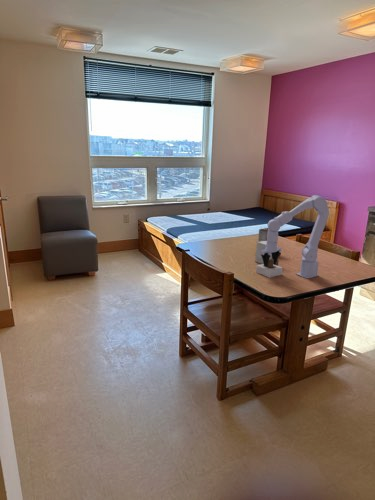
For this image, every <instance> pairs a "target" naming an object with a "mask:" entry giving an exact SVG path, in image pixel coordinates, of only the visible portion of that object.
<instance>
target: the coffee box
mask: <svg viewBox="0 0 375 500" xmlns="http://www.w3.org/2000/svg"><path fill="white" fill-rule="evenodd" d="M267 233H268V227H264V228H260V229H259V230H258V241H257V242H261V241H267Z"/></svg>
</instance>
